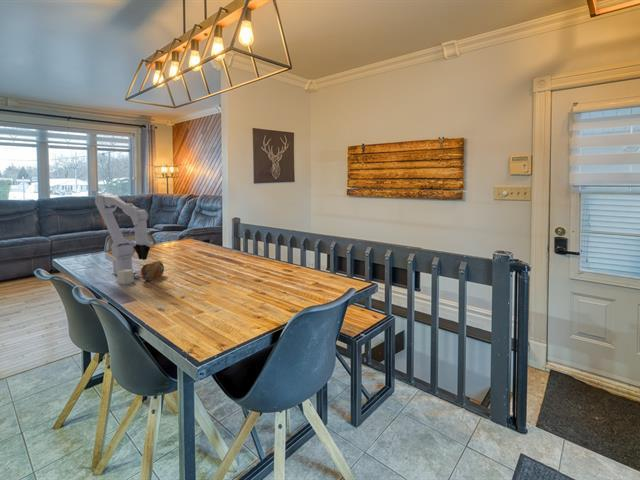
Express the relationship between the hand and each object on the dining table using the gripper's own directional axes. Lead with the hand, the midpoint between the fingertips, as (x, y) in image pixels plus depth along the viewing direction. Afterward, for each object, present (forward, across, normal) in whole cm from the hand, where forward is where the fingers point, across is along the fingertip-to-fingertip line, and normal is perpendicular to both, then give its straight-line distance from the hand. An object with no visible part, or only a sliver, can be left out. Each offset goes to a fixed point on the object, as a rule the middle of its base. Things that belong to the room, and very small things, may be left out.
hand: (143, 259), depth 186 cm
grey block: (+10, 0, -11) cm, 15 cm away
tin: (+10, +6, 0) cm, 12 cm away
